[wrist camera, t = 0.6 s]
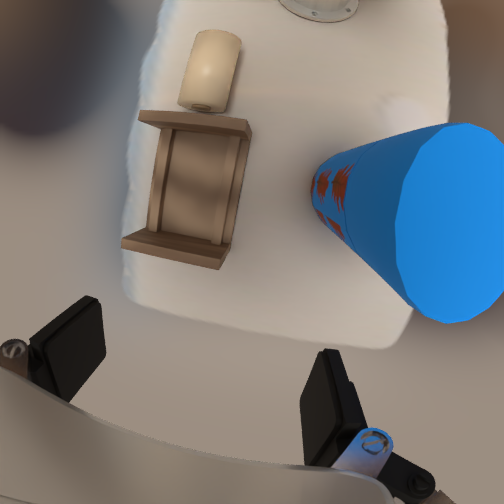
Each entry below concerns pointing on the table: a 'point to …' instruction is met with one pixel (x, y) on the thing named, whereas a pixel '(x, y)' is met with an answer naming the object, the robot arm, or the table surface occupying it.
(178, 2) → the table surface
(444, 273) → the thermos
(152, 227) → the cradle
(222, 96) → the kraft roll
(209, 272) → the table surface
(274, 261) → the table surface
